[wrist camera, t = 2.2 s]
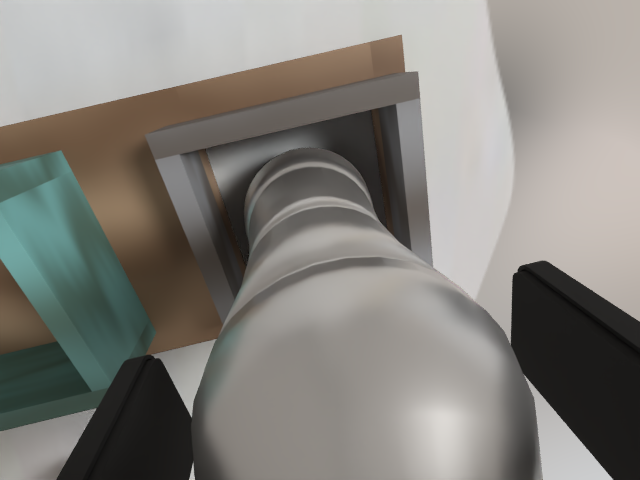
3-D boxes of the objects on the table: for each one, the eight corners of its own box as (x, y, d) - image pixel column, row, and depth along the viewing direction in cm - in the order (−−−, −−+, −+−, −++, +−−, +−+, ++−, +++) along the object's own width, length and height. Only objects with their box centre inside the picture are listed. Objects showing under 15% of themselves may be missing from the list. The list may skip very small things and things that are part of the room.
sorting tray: (-174, 168, 17) (-415, 215, 11) (391, 38, 17) (451, 16, 11) (-1, 376, 23) (-97, 479, 17) (416, 276, 23) (463, 342, 17)
